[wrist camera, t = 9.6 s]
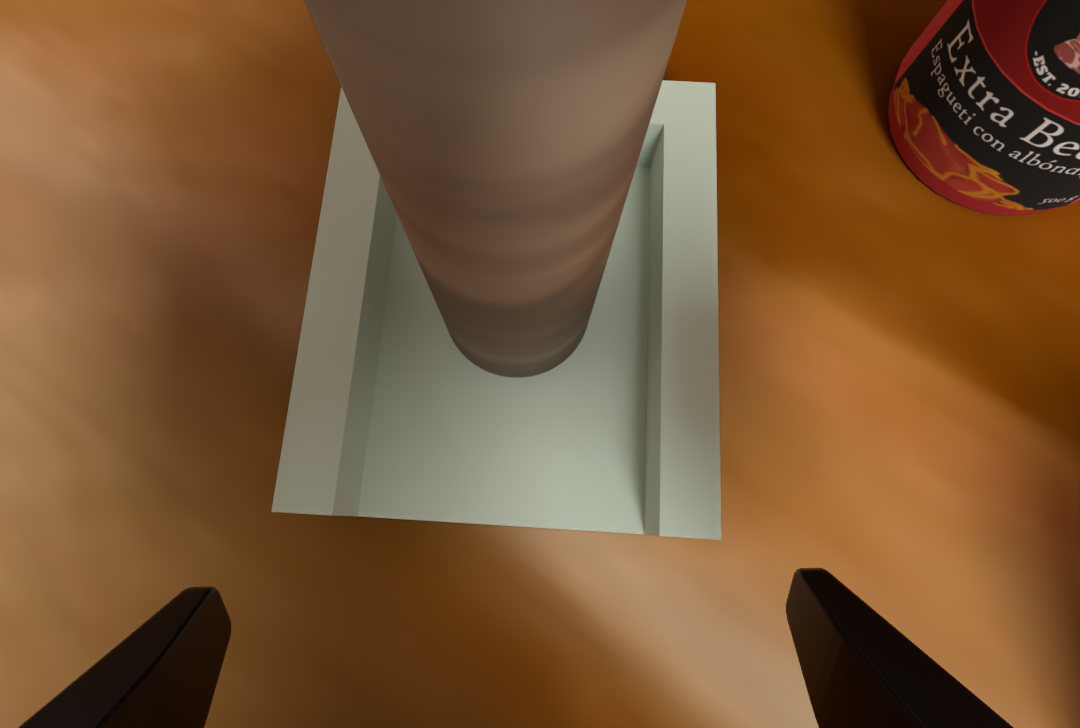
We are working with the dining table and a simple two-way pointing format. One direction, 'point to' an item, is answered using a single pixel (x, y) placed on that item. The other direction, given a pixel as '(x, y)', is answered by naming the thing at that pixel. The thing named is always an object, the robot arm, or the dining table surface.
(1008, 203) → the canned food
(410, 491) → the tray
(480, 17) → the brown round cylinder
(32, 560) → the dining table surface
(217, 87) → the dining table surface
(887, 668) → the robot arm
